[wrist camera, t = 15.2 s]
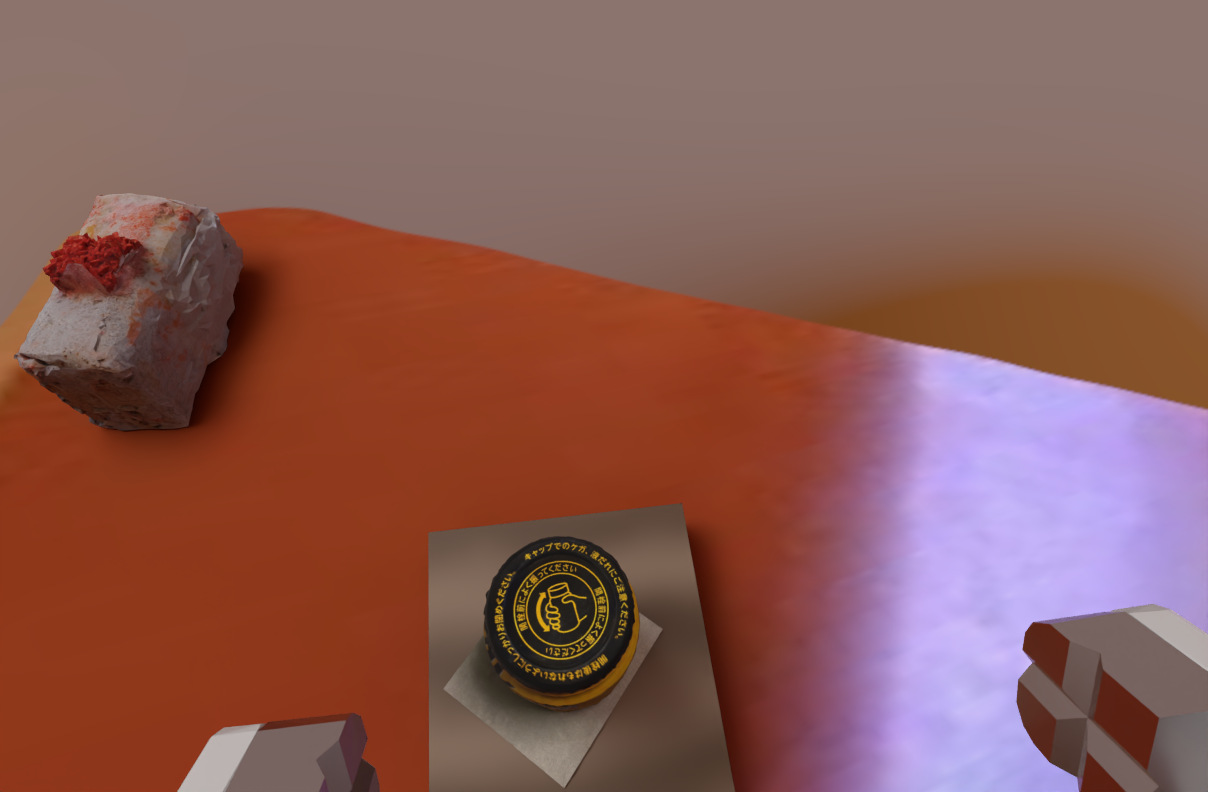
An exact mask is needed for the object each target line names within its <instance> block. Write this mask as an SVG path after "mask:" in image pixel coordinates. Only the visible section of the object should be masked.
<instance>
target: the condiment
mask: <svg viewBox="0 0 1208 792" xmlns="http://www.w3.org/2000/svg"><path fill="white" fill-rule="evenodd" d="M483 613H484V616H485V617H484V626H483V627H484V629H483V631H484V635H483V636H482V638H481V639H480V640H479V642H478V643H477V644H476V646H475V647H474V649H473V650H472V651H471V652H470V654H469V655H468V657H467V658H466V659H465V661H464V662H463V663H462V664H461V666H460V667H459V668H458V670H457V671H456V672H455V674H454V675H453V676H452V678H451V679H450V681H449V682H448V683H447V685H446V686H445V687H444V690H445V691H446V692H448V693H449V694H450V695H451V696H452V697H454V698H455V699H457V700H458V701H459V702H460V703H461V704H463V705H464V706H465V707H466V708H467V709H469V710H470V711H471V712H472V713H474V714H475V715H476V716H477V717H478V718H480V719H481V720H482V721H483V722H484V723H486V724H487V725H488V726H490V727H491V728H492V729H493V730H494V731H496V732H497V733H498V734H499V735H500V736H502V737H503V738H504V739H505V740H507V741H508V742H509V743H510V744H512V745H513V746H514V747H515V748H516V749H518V750H519V751H520V752H521V753H522V754H524V755H525V756H526V757H527V758H528V759H530V760H531V761H532V762H533V763H535V764H536V765H537V766H538V767H539V768H541V769H542V770H543V771H544V772H545V773H547V774H548V775H549V776H550V777H551V778H553V779H554V780H555V781H556V782H558V783H559V784H560V785H561V786H562V787H564V788H565V786H566V785H567V783H568V781H569V780H570V778H571V777H572V775H573V773H574V772H575V770H576V768H577V767H578V765H579V764H580V762H581V760H582V759H583V757H584V756H585V754H586V752H587V751H588V749H589V747H590V746H591V744H592V743H593V741H594V739H595V737H596V736H597V734H598V733H599V731H600V730H601V728H602V726H603V725H604V723H605V722H606V720H607V718H608V717H609V715H610V714H611V712H612V710H613V709H614V707H615V705H616V704H617V702H618V701H619V699H620V697H621V696H622V694H623V692H624V691H625V689H626V688H627V686H628V684H629V683H630V681H631V680H632V678H633V676H634V675H635V673H636V671H637V670H638V668H639V667H640V665H641V663H642V662H643V660H644V659H645V657H646V655H647V654H648V652H649V651H650V649H651V647H652V646H653V644H654V642H655V641H656V639H657V638H658V636H659V634H660V633H661V631H662V630H663V629H662V628H660V627H659V626H658V625H656V624H655V623H653V622H652V621H651V620H649V619H648V618H646V617H645V616H644V615H642V614H641V613H639V611H638V604H637V600H636V597H635V593H634V590H633V588H632V586H631V584H630V583H629V581H628V578H627V576H626V574H625V573H624V571H623V570H622V569H621V567H620V565H619V563H618V561H617V560H616V559H615V558H614V557H613V556H612V555H611V554H609V553H608V552H606V551H605V550H604V549H603V548H602V547H600V546H597V545H595V544H593V543H592V542H590V541H586V540H583V539H578V538H574V537H571V536H566V537H564V536H554V537H547V538H541V539H539V540H537V541H535V542H531V543H529V544H528V545H526V546H524V547H522V548H521V549H520V550H518V551H517V552H516V553H514V554H512V555H511V556H510V557H509V558H508V559H507V561H506V562H505V563H504V564H503V565H502V566H501V568H500V569H499V570H498V573H497V575H496V576H494V577H493V580H492V583H491V587H490V589H489V590H488V591H487V593H486V604H485V607H484V612H483ZM560 713H563V714H560Z"/></svg>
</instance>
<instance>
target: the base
mask: <svg viewBox="0 0 1208 792" xmlns="http://www.w3.org/2000/svg"><path fill="white" fill-rule="evenodd" d="M554 536H564V537H566V536H571V537H574V538H578V539H583V540H586V541H590V542H592V543H593V544H595V545H597V546H600V547H602V548H603V549H604V550H605V551H606V552H608V553H609V554H611V555H612V556H613V557H614V558H615V559H616V560H617V561H618V563H619V565H620V567H621V569H622V570H623V571H624V573H625V574H626V576H627V578H628V581H629V583H630V584H631V586H632V588H633V590H634V593H635V597H636V600H637V604H638V611H639V613H641V614H642V615H644V616H645V617H646V618H648V619H649V620H651V621H652V622H653V623H655V624H656V625H658V626H659V627H660V628H662V629H663V630H662V631H661V633H660V634H659V636H658V638H657V639H656V641H655V642H654V644H653V646H652V647H651V649H650V651H649V652H648V654H647V655H646V657H645V659H644V660H643V662H642V663H641V665H640V667H639V668H638V670H637V671H636V673H635V675H634V676H633V678H632V680H631V681H630V683H629V684H628V686H627V688H626V689H625V691H624V692H623V694H622V696H621V697H620V699H619V701H618V702H617V704H616V705H615V707H614V709H613V710H612V712H611V714H610V715H609V717H608V718H607V720H606V722H605V723H604V725H603V726H602V728H601V730H600V731H599V733H598V734H597V736H596V737H595V739H594V741H593V743H592V744H591V746H590V747H589V749H588V751H587V752H586V754H585V756H584V757H583V759H582V760H581V762H580V764H579V765H578V767H577V768H576V770H575V772H574V773H573V775H572V777H571V778H570V780H569V781H568V783H567V785H566V786H565V788H564V787H562V786H561V785H560V784H559V783H558V782H556V781H555V780H554V779H553V778H551V777H550V776H549V775H548V774H547V773H545V772H544V771H543V770H542V769H541V768H539V767H538V766H537V765H536V764H535V763H533V762H532V761H531V760H530V759H528V758H527V757H526V756H525V755H524V754H522V753H521V752H520V751H519V750H518V749H516V748H515V747H514V746H513V745H512V744H510V743H509V742H508V741H507V740H505V739H504V738H503V737H502V736H500V735H499V734H498V733H497V732H496V731H494V730H493V729H492V728H491V727H490V726H488V725H487V724H486V723H484V722H483V721H482V720H481V719H480V718H478V717H477V716H476V715H475V714H474V713H472V712H471V711H470V710H469V709H467V708H466V707H465V706H464V705H463V704H461V703H460V702H459V701H458V700H457V699H455V698H454V697H452V696H451V695H450V694H449V693H448V692H446V691H445V690H444V687H445V686H446V685H447V683H448V682H449V681H450V679H451V678H452V676H453V675H454V674H455V672H456V671H457V670H458V668H459V667H460V666H461V664H462V663H463V662H464V661H465V659H466V658H467V657H468V655H469V654H470V652H471V651H472V650H473V649H474V647H475V646H476V644H477V643H478V642H479V640H480V639H481V638H482V636H483V635H484V631H483V629H484V627H483V626H484V617H485V616H484V613H483V612H484V607H485V604H486V593H487V591H488V590H489V589H490V587H491V583H492V580H493V577H494V576H496V575H497V573H498V570H499V569H500V568H501V566H502V565H503V564H504V563H505V562H506V561H507V559H508V558H509V557H510V556H511V555H512V554H514V553H516V552H517V551H518V550H520V549H521V548H522V547H524V546H526V545H528V544H529V543H531V542H535V541H537V540H539V539H541V538H547V537H554ZM560 714H563V713H560ZM429 792H735V789H734V783H733V778H732V773H731V767H730V762H729V756H728V751H727V745H726V740H725V735H724V729H723V724H722V718H721V713H720V707H719V702H718V697H717V691H716V686H715V680H714V675H713V670H712V664H711V659H710V653H709V648H708V642H707V637H706V632H705V626H704V621H703V615H702V610H701V604H700V599H699V594H698V588H697V583H696V577H695V572H694V566H693V561H692V556H691V550H690V545H689V539H688V534H687V528H686V523H685V518H684V512H683V507H682V503H680V504H672V505H663V506H655V507H646V508H637V509H629V510H620V511H611V512H603V513H594V514H585V515H577V516H568V517H559V518H551V519H542V520H533V521H525V522H516V523H508V524H499V525H490V526H482V527H473V528H464V529H456V530H447V531H438V532H430V533H429Z"/></svg>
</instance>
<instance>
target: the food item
mask: <svg viewBox="0 0 1208 792" xmlns="http://www.w3.org/2000/svg"><path fill="white" fill-rule="evenodd" d="M66 241H67V242H65V243H64V244H63V248H62V249H61V250H57V251H53V252H51V255H52V256H53V258H54V259H52V260H50V262H51V264H49V265H48V266H46V267H44V268H43V270H44V272H45V274H46V275H48V276H50V281H51V282H52V283H53V284H54V285H55V287H54V289H53V291H52V294H51V297H50V298H49V299H48V302H47V303H46V304H45V306H44V308H43V310H42V311H41V312H40V313H39V314H38V315H39V316H38V318H37V319H36V321H35V323H34V324H33V326H32V328H31V329H30V331H29V333H28V335H27V338H26V341H25V342H24V343H23V344H22V345H21V348H20V350H19V352H18V353H16V354H15V355H14V359H18V361H19V365H20V366H21V367H22V368H23V369H24V370H25V371H26V372H27V373H29V374H30V375H32V376H33V377H35V378H36V379H37V380H38V381H39V383H40V385H41V386H43V387H45V388H46V389H48V390H49V391H50V392H52V393H56V394H57V396H58V397H59V398H60V399H61V400H62V401H63V402H65V403H66V404H68V405H69V406H71V407H72V408H73V409H75V410H76V411H78V412H80V413H81V414H86V415H87V416H89V421H90V422H91V423H93V424H95V425H97V426H100V427H107V428H114V429H118V430H121V431H126V430H136V429H175V428H182V427H187V426H189V421H190V416H191V412H192V408H193V402H194V397H195V393H196V392H197V391H198V389H199V387H200V384H201V382H202V379H203V376H204V374H205V371H206V367H207V365H208V364H210V363H211V362H213V361H214V360H216V359H217V358H219V357H220V356H222V355H223V353H224V352H225V350H226V348H227V338H228V334H229V329H228V327H227V324H226V323H227V320H228V319H229V317H230V316H231V314H232V312H233V311H234V309H235V305H234V298H233V293H234V290H235V287H236V284H237V283H238V282H239V274H240V272H241V269H242V268H243V267H244V265H243V262H242V259H243V251H242V249H241V248H240V247H239V248H238V247H237V245H236V242H235V240H234V239H233V238H232V237H231V236H230V234H229V233H227V232H226V231H225V229H224V227H223V226H222V225H221V224H220V219H219V217H218V216H217V215H216V214H215V213H212V212H211V211H210V210H209V209H208V208H207V207H206V208H201V207H199V206H197V205H187V204H186V203H184V202H182V201H178V200H173V199H167V198H161V197H156V196H147V195H135V194H131V193H126V194H114V195H97V196H96V200H95V203H94V206H93V211H92V212H90V215H89V218H88V219H87V220H86V221H85V222H84V224H83V227H82V229H81V232H80V234H79V235H78V236H70V237H68V239H67V240H66Z"/></svg>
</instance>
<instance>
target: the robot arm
mask: <svg viewBox="0 0 1208 792" xmlns="http://www.w3.org/2000/svg"><path fill="white" fill-rule="evenodd" d="M1023 651H1024V652H1025V654H1026V655H1027V656H1028V658H1029V659H1030V660H1031V662H1032V664H1031V665H1030V666H1029V667H1028V669H1027V670H1026V671H1025V672H1024V673H1023V675H1022V676H1021V677H1020V678H1019V679H1018V690H1017V705H1018V709H1019V712H1020V716H1021V719H1022V722H1023V726H1024V727H1025V729H1026V731H1027V733H1028V734H1029V736H1030V738H1031V740H1032V741H1033V743H1034V744H1035V746H1036V747H1037V748H1038V749H1039V750H1040V752H1041V753H1042V754H1043V755H1044V756H1045V757H1046V759H1047V760H1048V761H1049V762H1050V763H1052V764H1053V765H1055V766H1057V767H1059V768H1061V769H1063V770H1065V771H1066V772H1068V773H1070V774H1072V775H1074V776H1076V777H1077V779H1078V788H1079V792H1208V634H1207V633H1205V632H1204V631H1202V630H1201V629H1199V628H1198V627H1196V626H1195V625H1193V624H1192V623H1190V622H1189V621H1187V620H1186V619H1184V618H1183V617H1181V616H1180V615H1178V614H1177V613H1175V612H1174V611H1172V610H1170V609H1167V608H1164V607H1161V606H1158V605H1155V604H1150V605H1143V606H1137V607H1130V608H1124V609H1117V610H1113V611H1111V612H1101V613H1094V614H1087V615H1080V616H1073V617H1066V618H1059V619H1052V620H1045V621H1038V622H1033V623H1032V624H1031V625H1030V627H1029V628H1028V630H1027V631H1026V632H1025V637H1024V644H1023ZM367 739H368V738H367V735H366V732H365V729H364V725H363V722H362V719H361V716H359V715H357V714H355V713H347V714H338V715H329V716H320V717H310V718H301V719H292V720H283V721H273V722H268V723H267V724H255V725H245V726H236V727H226V728H223V729H221V730H220V731H219V732H217V733H216V734H215V735H213V736H212V737H211V738H210V739H209V741H208V743H207V744H206V746H205V747H204V749H203V751H202V752H201V754H200V756H199V757H198V759H197V760H196V762H195V764H194V765H193V767H192V769H191V770H190V772H189V773H188V775H187V777H186V778H185V780H184V782H183V783H182V785H181V786H180V788H179V790H178V791H177V792H380V789H379V782H378V778H377V774H376V770H375V768H374V767H373V766H372V765H370V764H369V763H368V762H366V761H365V760H364V759H362V754H363V751H364V748H365V745H366V742H367Z"/></svg>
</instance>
